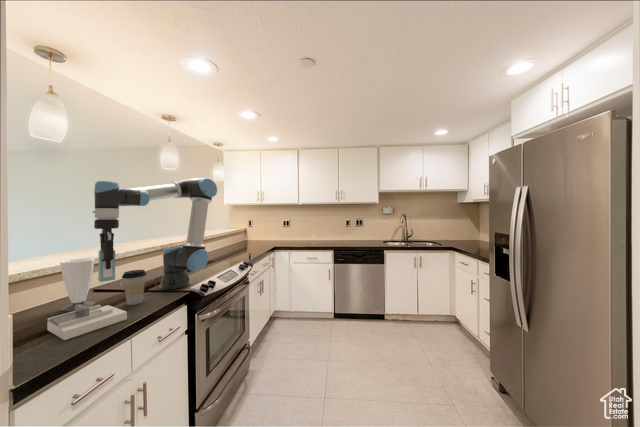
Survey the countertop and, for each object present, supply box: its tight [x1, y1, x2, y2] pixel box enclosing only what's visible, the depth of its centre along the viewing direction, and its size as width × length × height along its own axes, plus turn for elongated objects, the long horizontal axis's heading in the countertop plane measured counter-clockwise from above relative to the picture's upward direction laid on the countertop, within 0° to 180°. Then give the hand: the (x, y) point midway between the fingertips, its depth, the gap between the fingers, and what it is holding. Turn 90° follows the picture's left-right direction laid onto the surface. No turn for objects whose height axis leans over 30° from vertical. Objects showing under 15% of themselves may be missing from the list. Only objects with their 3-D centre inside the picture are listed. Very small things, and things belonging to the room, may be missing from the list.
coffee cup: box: [121, 269, 147, 306], centre depth 115 cm, size 9×9×15 cm
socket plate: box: [46, 304, 128, 341], centre depth 93 cm, size 18×16×4 cm
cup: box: [59, 257, 96, 312], centre depth 111 cm, size 12×12×22 cm
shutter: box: [52, 304, 89, 325], centre depth 90 cm, size 8×9×4 cm
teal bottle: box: [97, 247, 116, 283], centre depth 98 cm, size 5×5×15 cm
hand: (106, 275), depth 98 cm, fingers closed on teal bottle, 5 cm apart
